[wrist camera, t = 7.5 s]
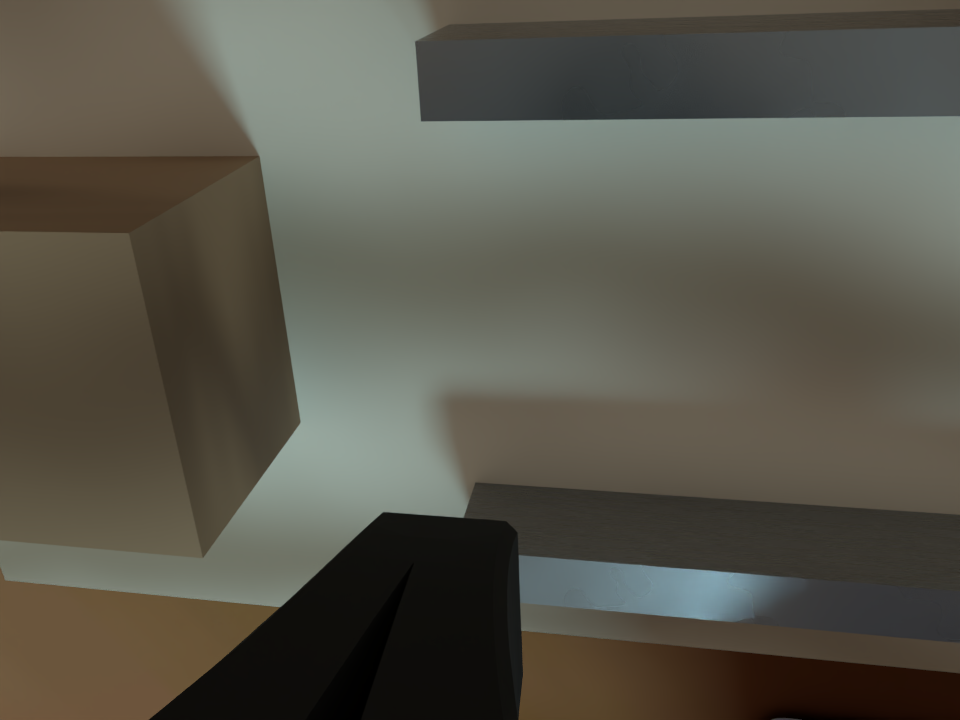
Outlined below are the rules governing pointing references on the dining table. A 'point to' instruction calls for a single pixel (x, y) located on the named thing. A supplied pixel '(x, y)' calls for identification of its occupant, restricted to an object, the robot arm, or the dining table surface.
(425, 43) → the grey metal bar
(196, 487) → the walnut block
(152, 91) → the grey flat piece
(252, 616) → the dining table surface
